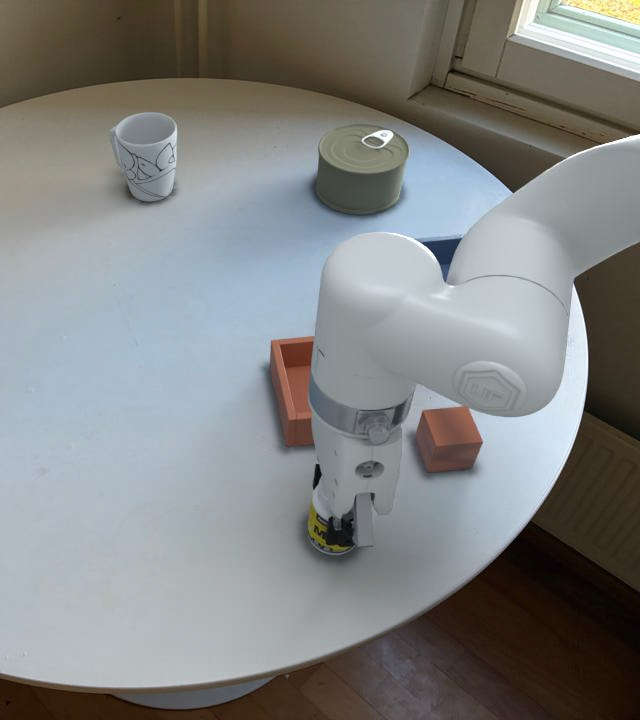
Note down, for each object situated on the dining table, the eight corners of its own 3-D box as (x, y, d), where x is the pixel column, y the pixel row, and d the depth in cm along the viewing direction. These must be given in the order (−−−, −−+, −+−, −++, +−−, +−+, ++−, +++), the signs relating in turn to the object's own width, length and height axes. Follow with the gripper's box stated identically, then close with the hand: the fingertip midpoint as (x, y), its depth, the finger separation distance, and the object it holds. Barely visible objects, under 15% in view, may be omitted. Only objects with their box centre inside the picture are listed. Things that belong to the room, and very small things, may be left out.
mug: (96, 185, 113) (87, 125, 106) (135, 159, 117) (128, 99, 110) (153, 214, 108) (147, 152, 100) (192, 185, 112) (189, 124, 104)
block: (457, 432, 79) (467, 405, 76) (472, 468, 76) (483, 442, 73) (414, 436, 79) (422, 409, 76) (427, 472, 76) (436, 446, 73)
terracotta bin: (366, 358, 87) (372, 330, 84) (392, 436, 80) (400, 409, 76) (269, 367, 87) (270, 339, 84) (286, 446, 80) (288, 420, 76)
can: (296, 190, 109) (299, 148, 104) (351, 155, 114) (357, 113, 109) (364, 227, 102) (371, 184, 97) (419, 188, 107) (428, 145, 102)
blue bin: (469, 261, 97) (477, 232, 93) (497, 317, 90) (508, 288, 86) (389, 268, 97) (394, 240, 93) (411, 325, 90) (418, 297, 87)
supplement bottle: (304, 551, 72) (310, 503, 65) (309, 508, 75) (316, 459, 68) (356, 561, 71) (368, 513, 64) (360, 517, 74) (371, 467, 67)
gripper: (447, 478, 51) (402, 598, 64) (381, 302, 62) (355, 435, 76) (334, 489, 51) (313, 606, 64) (289, 311, 62) (279, 443, 76)
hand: (336, 513), depth 70 cm, fingers closed on supplement bottle, 4 cm apart
